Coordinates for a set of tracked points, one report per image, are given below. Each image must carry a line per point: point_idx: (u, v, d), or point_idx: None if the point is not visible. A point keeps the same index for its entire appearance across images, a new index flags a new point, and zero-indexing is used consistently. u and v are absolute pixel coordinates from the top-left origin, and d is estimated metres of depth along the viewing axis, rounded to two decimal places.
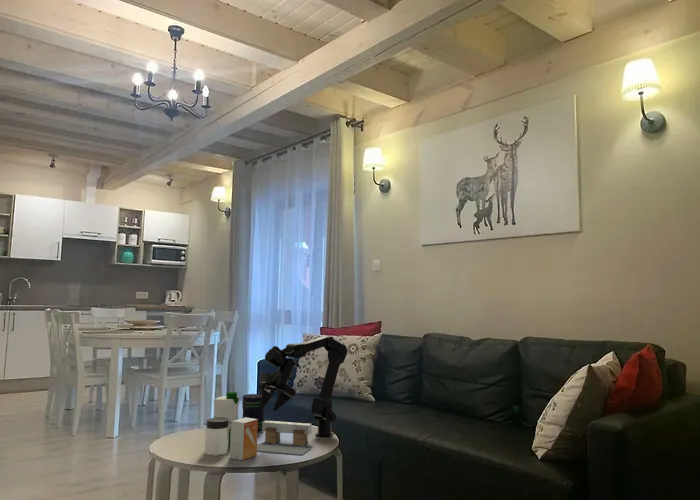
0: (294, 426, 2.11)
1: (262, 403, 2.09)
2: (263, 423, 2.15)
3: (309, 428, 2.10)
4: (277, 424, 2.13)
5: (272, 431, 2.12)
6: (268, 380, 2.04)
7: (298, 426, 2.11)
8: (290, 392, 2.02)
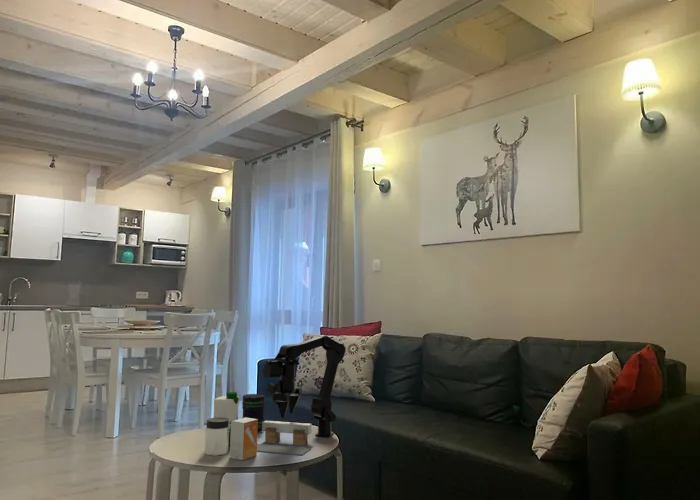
0: (294, 426, 2.11)
1: (290, 408, 2.19)
2: (263, 423, 2.15)
3: (309, 428, 2.10)
4: (277, 424, 2.13)
5: (272, 431, 2.12)
6: (269, 392, 2.15)
7: (298, 426, 2.11)
8: (278, 399, 2.06)
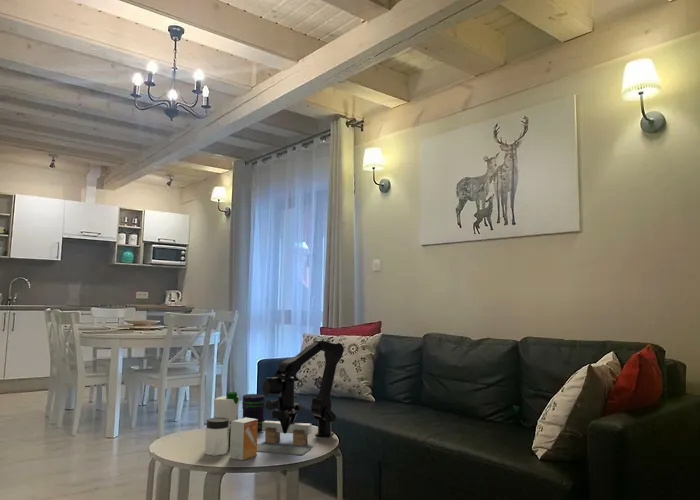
0: (294, 426, 2.11)
1: None
2: (263, 423, 2.15)
3: (309, 428, 2.10)
4: (277, 424, 2.13)
5: (272, 431, 2.12)
6: (269, 409, 2.14)
7: (298, 426, 2.11)
8: (278, 416, 2.05)
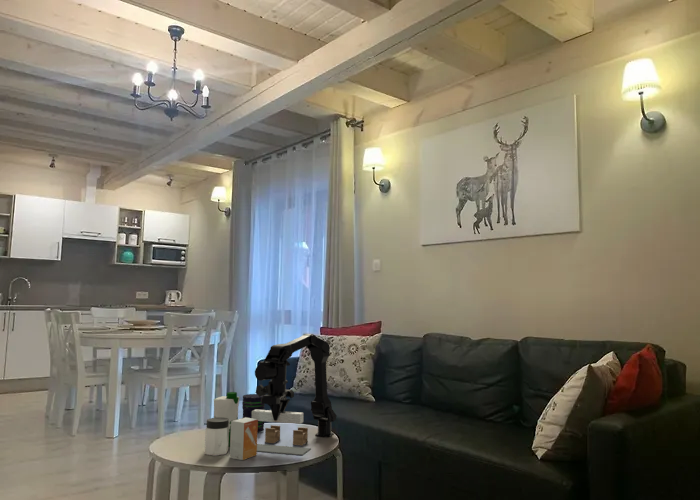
0: (285, 415, 2.00)
1: None
2: (253, 412, 2.04)
3: (301, 417, 2.00)
4: (267, 413, 2.02)
5: (272, 431, 2.12)
6: (259, 395, 2.03)
7: (289, 415, 2.00)
8: (268, 402, 1.95)
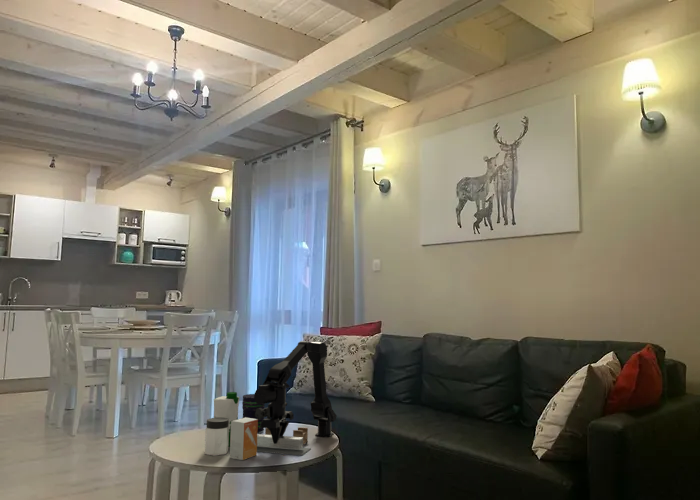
0: (285, 440, 1.99)
1: None
2: None
3: (301, 442, 1.99)
4: (267, 438, 2.01)
5: None
6: (258, 418, 2.02)
7: (289, 440, 1.99)
8: (268, 426, 1.93)
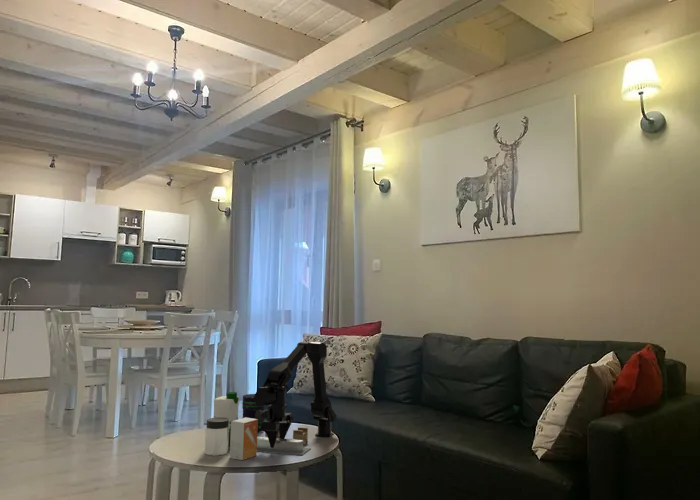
0: (285, 443, 1.99)
1: (280, 436, 2.06)
2: None
3: (300, 445, 1.98)
4: (267, 440, 2.01)
5: None
6: (258, 420, 2.02)
7: (289, 443, 1.98)
8: (267, 428, 1.93)
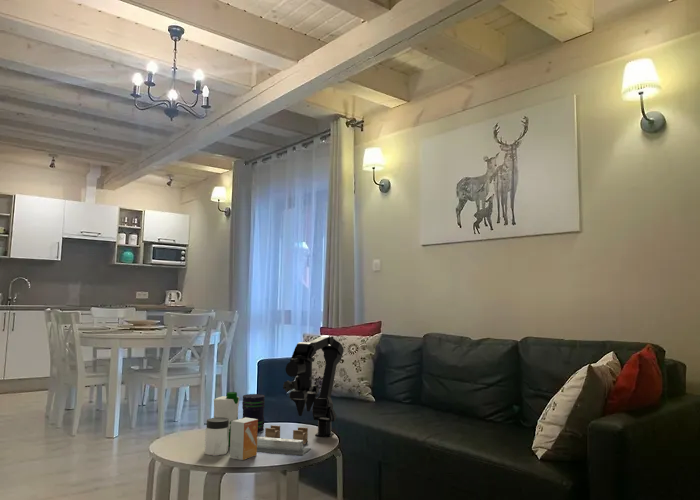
0: (285, 443, 1.99)
1: (307, 406, 2.16)
2: None
3: (300, 445, 1.98)
4: (267, 440, 2.01)
5: (272, 431, 2.12)
6: (286, 390, 2.12)
7: (289, 443, 1.98)
8: (296, 397, 2.03)
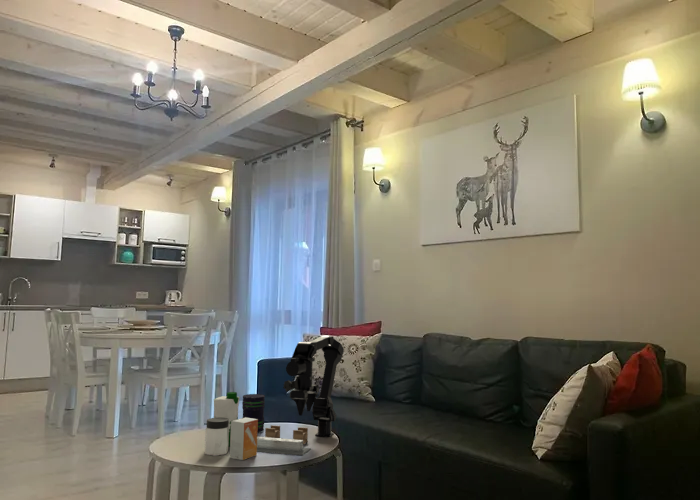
0: (285, 443, 1.99)
1: (307, 406, 2.16)
2: None
3: (300, 445, 1.98)
4: (267, 440, 2.01)
5: (272, 431, 2.12)
6: (287, 390, 2.12)
7: (289, 443, 1.98)
8: (297, 396, 2.03)
